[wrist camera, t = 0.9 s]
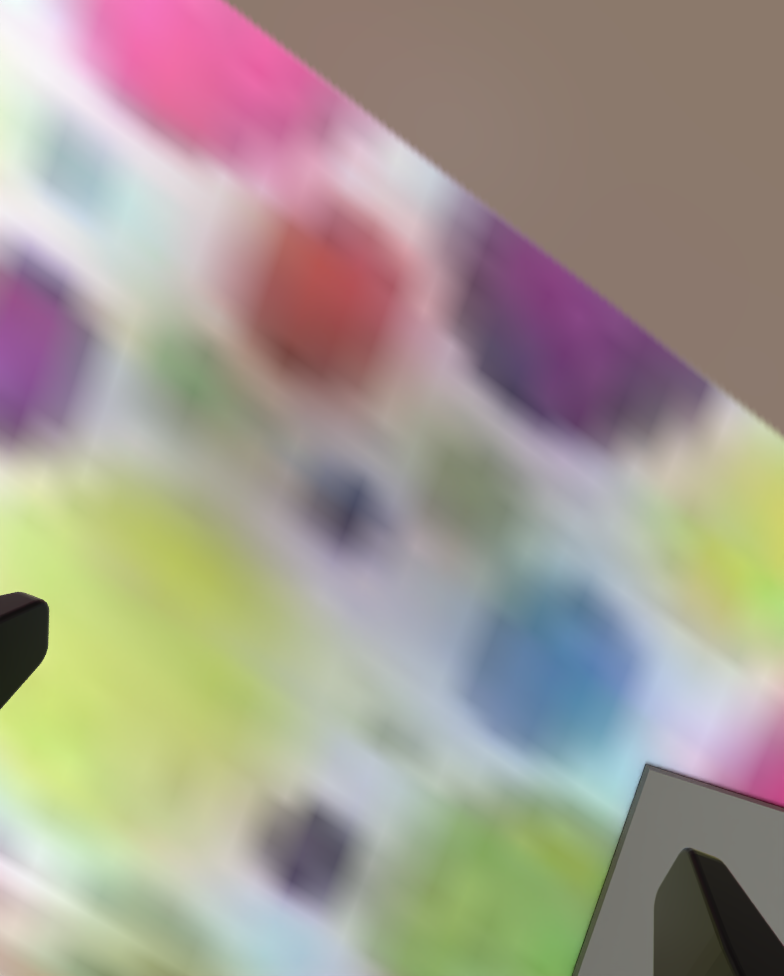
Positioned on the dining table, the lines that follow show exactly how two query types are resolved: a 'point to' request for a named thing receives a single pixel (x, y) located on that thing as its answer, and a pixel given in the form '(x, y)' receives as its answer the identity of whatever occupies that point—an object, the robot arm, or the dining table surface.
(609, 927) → the mat
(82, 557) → the dining table surface
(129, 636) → the dining table surface
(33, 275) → the dining table surface
